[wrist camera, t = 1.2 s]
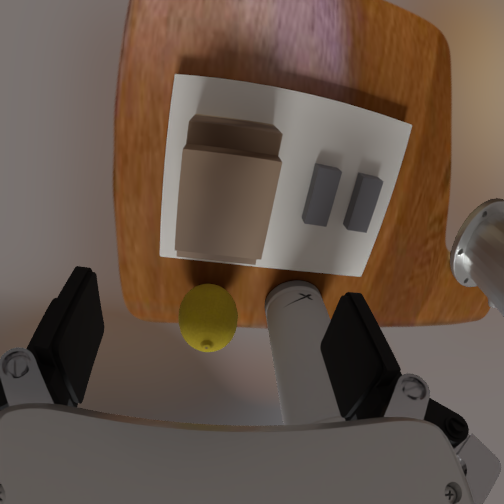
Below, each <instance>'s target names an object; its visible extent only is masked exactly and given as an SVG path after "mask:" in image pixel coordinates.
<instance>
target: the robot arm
mask: <svg viewBox="0 0 504 504" xmlns="http://www.w3.org/2000/svg"><path fill="white" fill-rule="evenodd" d="M450 266H451V271H452V274H453V276H454V277H455V278H456V280H457V281H458V282H459V283H460V284H462V285H464V286H467V287H474V286H478V287H479V288H480V289H481V290H482V291H483V292H484V294H485V295H486V296H487V297H488V304H489V306H490V307H492V308H495V307H496V308H497V309H498V310H499V312H500V313H501V314H502V315H503V317H504V200H503V199H497V198H496V199H491V200H488V201H486V202H484V203H483V204H481V205H480V206H478V207H477V208H476V209H475V210H474V211H473V212H472V213H471V214H470V215H469V216H468V218H467V219H466V220H465V222H464V223H463V225H462V226H461V228H460V230H459V232H458V234H457V236H456V238H455V241H454V244H453V246H452V251H451V257H450ZM103 333H104V322H103V316H102V310H101V304H100V298H99V291H98V284H97V276H96V274H95V272H92V270H91V268H87V267H78V266H77V267H75V269H74V271H73V272H72V274H71V276H70V277H69V279H68V280H67V282H66V284H65V286H64V287H63V289H62V291H61V292H60V294H59V296H58V298H55V299H53V300H52V302H51V303H50V305H49V307H48V309H47V310H46V312H45V315H44V316H43V318H42V320H41V322H40V323H39V325H38V327H37V329H36V331H35V333H34V335H33V337H32V339H31V341H30V343H29V345H28V347H27V349H24V348H13V349H10V350H9V351H7V352H6V353H4V355H2V357H1V359H0V504H483V503H484V501H485V499H486V498H487V496H488V494H489V493H490V491H491V489H492V487H493V485H494V484H495V481H496V480H497V478H498V476H499V474H500V471H501V464H500V461H499V460H498V458H497V457H496V456H495V455H494V454H493V453H492V452H491V451H490V450H489V449H488V448H487V447H486V446H485V445H484V444H482V442H481V441H480V440H479V439H477V438H476V437H475V436H474V435H473V434H471V435H469V434H468V430H469V429H468V425H467V423H466V421H465V420H464V419H463V417H461V416H460V415H459V414H457V413H455V412H453V411H451V410H450V409H448V408H446V407H445V406H443V405H441V404H439V403H438V402H436V401H434V400H432V399H431V398H429V397H430V390H429V387H428V385H427V383H426V382H425V381H424V380H423V379H422V378H420V377H419V376H417V375H414V374H404V375H402V374H401V372H400V370H401V369H400V367H399V365H398V363H397V361H396V358H395V357H394V354H393V352H392V350H391V349H390V347H389V345H388V343H387V341H386V339H385V337H384V335H383V333H382V331H381V329H380V327H379V325H378V323H377V321H376V319H375V318H374V316H373V314H372V312H371V310H370V308H369V306H368V305H367V303H366V301H365V299H364V297H363V295H362V294H361V293H351V292H347V293H346V294H345V295H344V296H341V298H340V300H339V302H338V305H337V307H336V310H335V312H334V314H333V317H332V319H331V321H330V323H329V326H328V328H327V330H326V333H325V335H324V337H323V339H322V341H321V345H320V350H321V353H322V356H323V360H324V363H325V366H326V369H327V372H328V376H329V379H330V382H331V385H332V389H333V392H334V395H335V399H336V402H337V405H338V409H339V412H340V415H341V417H342V418H345V421H341V422H330V423H318V424H303V425H278V426H231V425H206V424H192V423H179V422H168V421H159V420H150V419H143V418H136V417H129V416H122V415H116V414H110V413H104V412H98V411H93V410H88V409H83V408H77V405H78V403H82V401H83V398H84V395H85V391H86V388H87V384H88V381H89V377H90V374H91V370H92V367H93V364H94V361H95V358H96V355H97V351H98V348H99V345H100V342H101V339H102V336H103Z"/></svg>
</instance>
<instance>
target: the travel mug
mask: <svg viewBox="0 0 504 504" xmlns="http://www.w3.org/2000/svg"><path fill="white" fill-rule="evenodd" d="M265 312H266V318H267V325H268V330H269V337H270V343H271V349H272V356H273V361H274V368H275V375H276V381H277V387H278V393H279V400H280V405H281V412H282V418H283V425H303V424H318V423H330V422H341V421H345V418H342V417H341V415H340V412H339V409H338V405H337V402H336V399H335V395H334V392H333V389H332V385H331V382H330V379H329V376H328V372H327V369H326V366H325V363H324V360H323V356H322V353H321V350H320V345H321V341H322V339H323V337H324V335H325V333H326V330H327V328H328V326H329V323H330V321H331V320H330V318H329V315H328V312H327V310H326V307H325V305H324V302H323V299H322V297H321V294H320V292H319V290H318V289H317V288H316V287H315V286H314V285H313V284H311V283H309V282H306V281H300V280H294V281H288V282H285V283H283V284H280V285H278V286H277V287H276V288H274V289H273V290H272V291H271V292H270V293H269V295H268V296H267V298H266V301H265Z"/></svg>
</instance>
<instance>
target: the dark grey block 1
mask: <svg viewBox="0 0 504 504" xmlns="http://www.w3.org/2000/svg"><path fill="white" fill-rule="evenodd" d="M341 174H342V171H341V170H339V169H338V168H337V167H332V166H327V165H322V164H317V163H315V166H314V170H313V174H312V178H311V182H310V186H309V190H308V194H307V198H306V202H305V206H304V210H303V214H302V217H301V218H302V220H303V222H304V224H310V225H318V226H324V227H326V226H327V223H328V220H329V216H330V213H331V210H332V206H333V203H334V199H335V196H336V192H337V189H338V185H339V182H340V178H341Z"/></svg>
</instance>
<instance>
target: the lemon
mask: <svg viewBox="0 0 504 504" xmlns="http://www.w3.org/2000/svg"><path fill="white" fill-rule="evenodd" d="M237 319H238V314H237V309H236V304H235V302H234V300H233V298H232V296H231V295H230V294H229V293H228V292H227V291H226V290H225V289H224V288H222V287H220V286H218V285H214V284H202V285H198V286H196V287H194V288H193V289H191V290H190V291H189V292H188V293H187V294H186V295H185V297H184V299H183V301H182V303H181V305H180V309H179V326H180V330H181V333H182V336H183V338H184V339H185V341H186V342H187V343H188V344H189V345H190V346H192V347H193V348H195V349H197V350H200V351H203V352H213V351H217V350H220V349H222V348H223V347H225V346H226V345H227V344H228V343H229V342H230V341H231V339H232V338H233V335H234V333H235V331H236V327H237Z"/></svg>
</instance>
